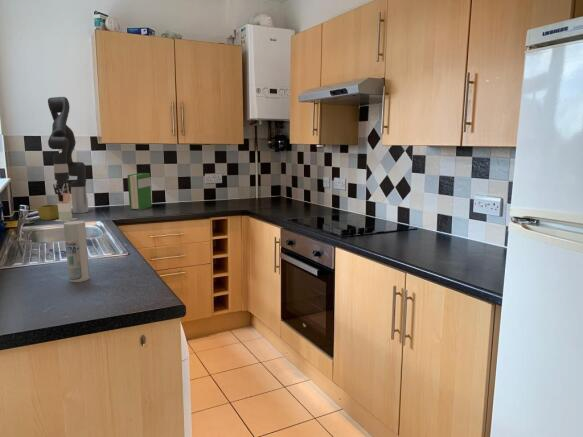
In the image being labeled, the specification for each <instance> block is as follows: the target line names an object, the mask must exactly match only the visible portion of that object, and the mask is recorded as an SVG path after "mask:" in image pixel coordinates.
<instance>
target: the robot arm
mask: <svg viewBox="0 0 583 437" xmlns="http://www.w3.org/2000/svg"><path fill="white" fill-rule="evenodd" d="M47 105H48V108H49V112H50V114H51V117H52V120H53V122H52V130H51V134H50V136H49V138H48V140H47V145H48V147H49V148H50V149H51V150H61V152H58V153H54V154H53V155H52V158H53V175H54V180H55V181H56V183H55V184H52V185H53V191H54V194H55V195H56V196H57V195H58V198H59V201H63V195H62V194H63V193H70V198H71V210H72V214H83V213H88V212H89V200H88V195H87V170H86V164H85V163H84V162H81V161H73V158H72V157H73V156H72V155H73V152H74V149H75V146H76V144H77V142H76V137H75V134H74V131H73V130H72V129H71V128H70V126H68V125H67V121H68V117H69V113H70V106H71V105H70V102H69V100H68V98H67V97H65V96H55V97H54V96H52V97H49V98H48V99H47ZM59 113H60V114H59ZM70 177H77V178H76V180H74V181H68V180H70Z"/></svg>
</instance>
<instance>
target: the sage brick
mask: <svg viewBox="0 0 583 437" xmlns="http://www.w3.org/2000/svg"><path fill="white" fill-rule="evenodd" d="M58 213H59V215H58V219H59V220H70V219H72V218H73V210H71V211H68V212H58Z"/></svg>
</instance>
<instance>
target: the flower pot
mask: <svg viewBox="0 0 583 437" xmlns="http://www.w3.org/2000/svg"><path fill="white" fill-rule="evenodd" d="M36 210H37V213H38V212H39V214H38V216H39V215H40V217H39V219H41V221H54V220H58V218H59V213H58V204H44V205H39V206H36Z"/></svg>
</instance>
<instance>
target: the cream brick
mask: <svg viewBox="0 0 583 437" xmlns="http://www.w3.org/2000/svg"><path fill="white" fill-rule="evenodd" d="M57 205H58V212H68V211H72V201H70V202H57Z"/></svg>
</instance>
